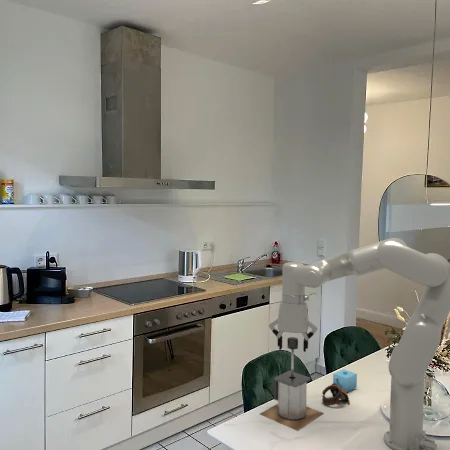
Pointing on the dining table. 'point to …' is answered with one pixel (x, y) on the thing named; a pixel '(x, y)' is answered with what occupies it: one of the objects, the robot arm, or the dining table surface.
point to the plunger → (292, 351)
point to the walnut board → (296, 425)
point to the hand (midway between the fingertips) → (292, 349)
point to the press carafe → (291, 395)
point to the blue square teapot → (345, 380)
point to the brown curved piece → (335, 395)
